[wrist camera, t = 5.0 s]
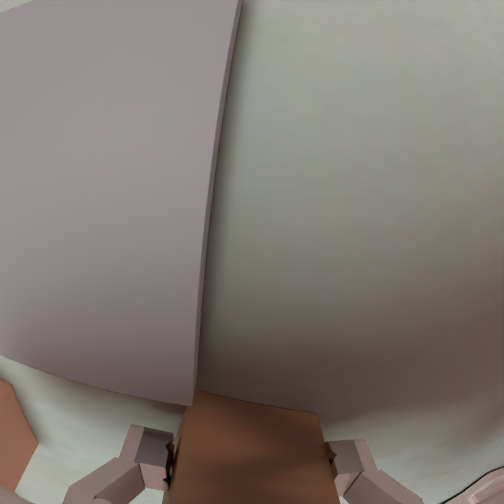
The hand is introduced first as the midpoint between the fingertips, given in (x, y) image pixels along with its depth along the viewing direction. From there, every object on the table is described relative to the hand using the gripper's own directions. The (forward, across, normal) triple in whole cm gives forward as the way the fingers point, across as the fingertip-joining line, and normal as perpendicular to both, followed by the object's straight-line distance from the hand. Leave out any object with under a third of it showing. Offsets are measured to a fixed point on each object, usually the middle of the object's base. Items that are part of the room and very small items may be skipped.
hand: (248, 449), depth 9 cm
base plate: (+2, +8, -8) cm, 11 cm away
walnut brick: (+2, 0, +2) cm, 2 cm away
